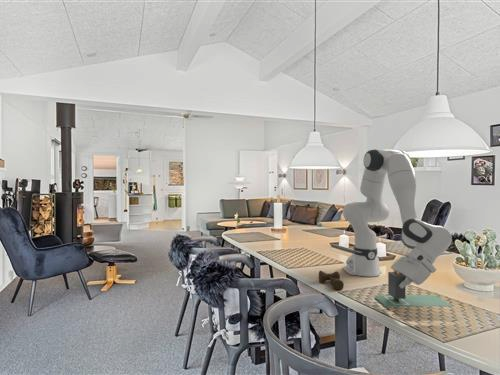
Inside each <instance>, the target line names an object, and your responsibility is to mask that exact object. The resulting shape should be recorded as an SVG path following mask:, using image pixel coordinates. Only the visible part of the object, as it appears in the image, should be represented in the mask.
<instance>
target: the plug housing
mask: <svg viewBox="0 0 500 375" xmlns="http://www.w3.org/2000/svg"><path fill="white" fill-rule="evenodd" d="M387 274H388V276H387V277H388V278H387V280H388V281H387V282H388V285H387V287H388V289H387V290H388V291H387V295H391V296H392V297H394V298H395V299H405V295H406V286H405V287H404V288H403V289H402V288H400V287H399V286H398V284H399V283H400V282H403V281H404V280H405V277H406V276H404V275H402V274H401V273H399V272H398V271H396V270H394V271H388V273H387Z"/></svg>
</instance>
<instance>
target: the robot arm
mask: <svg viewBox="0 0 500 375" xmlns="http://www.w3.org/2000/svg"><path fill="white" fill-rule="evenodd" d="M363 165H364V171H363V175H362V178H361V182H360V183H361V184H360V188H359V191H360V193H361V194H362V195H363V196H364V197H366V201H359V202H358V201H356V202H350V203H347V204H345V205H344V207H343V209H342V216H343V218H344V219H345V221H347V222H348V223H349V224H350V226H351V228H352V229H353V233H354V246H353V247H352V249H353V252H352V254H351V255H350V256H349V257H348V258H347V259H346V262H345V263H346V265H344V266H342V269H343V270H344V271H345V272H346V273H348V274H349V275H352V276H353V275H354V276H359V277H367V278H368V277H371V278H372V277H378V276H380V275H381V274H382V270H380V259H379V257H378V248H377V233H376V232H375V231H374V230H372V229H371V228H369V224H368V223H378V222H382V221H386V220H387V219H388V217H389V214H390V210H389V209H390V208H389V207H388V206H387V204H386V203H385V202H384V200H383V190H384V184H385V181H386V175H387V179H388V182H389V186H390V188H391V191H392V194H393V195H394V197H395V201H396V202H397V205H398V208H399V213H400V217H401V222H402V228H401V236H400V238H401V243H402V244H403V245H404V246H405V247H406V248H408V249H409V250H410V251H409V253H407V255H405V256H400V257H399V258H398V259H397V260H396V261H395V262H394V263H392V264H391V266H390V269H391V270H392V272H394V270H396V271H398V272H399V273H401V274H402V275H404V276H406V277H405V280H404V281H403V282H400V283H399V284H398V286H399V287H400V288H402V289H403V288H404V287H405V288H406V287H407V286H408V285H410V284H412V283H413V284H415V285H417V286H419V285H421V284H423V283H424V282H425V281H426V280H427V279H428V278H430V276H431V275H432V274H434V273H435V272H436V271H437V269H436V268H435V266H434V265H433V264H434V263H435V261H437V258H438V257H440V256H442V255H443V254H444V253H445V252H446V251H447V250H448V248H449V247H450V246H451V244H452V241H453V237H452V234H451V233H450V232H449V231H448V230H447V229H446V228H445V227H444V226H442V225H435V224H434V225H433V224H430V223H427V222H426V221H422V220H421V219H419V218H418V217H417V212H416V209H415V198H416V190H417V180H416V176H415V174H416V173H415V170H414V168H413V165H412V163H411V156H410V154H409V153H408V152H407V151H404V150H396V149H370V150H368V151H366V153H365V154H364V156H363Z"/></svg>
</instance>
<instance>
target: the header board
mask: <svg viewBox="0 0 500 375" xmlns="http://www.w3.org/2000/svg"><path fill="white" fill-rule="evenodd" d="M373 299H374V301H376V302H378V303H379V304H380V305H381V306H382V307H383V308H384V309H385V310H387V311H391V309H390V308H389V307H454V305H453V304H451V303H450V302H448V301H446V300H445V299H443V298H441V297H439V296H438V295H436V294H405V299H399V302H397V301H396V300H395V299H394V297H392V296H391V295H390V294H382V295H381V294H374V298H373Z"/></svg>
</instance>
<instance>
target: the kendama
mask: <svg viewBox="0 0 500 375" xmlns="http://www.w3.org/2000/svg"><path fill="white" fill-rule="evenodd" d="M340 277H341V276H340V272H339V271H334V272H330V273H326V272H325V271H322V270H319V272H318V282H319V283H320V284H323V283H325V282H326V281H330V282H329V283H330V286H331V287H332V288H333V290H334V291H342V290H343V289H344V281H342V280H341V278H340Z"/></svg>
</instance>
